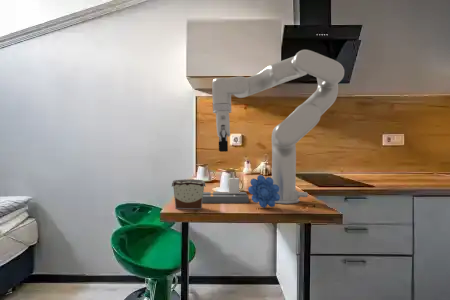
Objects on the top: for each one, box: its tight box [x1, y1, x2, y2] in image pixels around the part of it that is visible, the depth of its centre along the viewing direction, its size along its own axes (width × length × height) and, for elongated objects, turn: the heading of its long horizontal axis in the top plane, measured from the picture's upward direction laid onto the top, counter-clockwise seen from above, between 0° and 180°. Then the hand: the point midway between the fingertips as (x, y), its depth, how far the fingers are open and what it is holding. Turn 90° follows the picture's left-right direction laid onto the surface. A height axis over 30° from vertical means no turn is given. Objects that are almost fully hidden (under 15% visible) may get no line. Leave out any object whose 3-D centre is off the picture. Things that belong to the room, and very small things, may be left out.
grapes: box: [247, 174, 280, 209], centre depth 129 cm, size 12×7×12 cm, turn 86°
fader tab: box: [228, 177, 240, 195], centre depth 145 cm, size 4×3×7 cm
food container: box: [171, 178, 207, 210], centre depth 130 cm, size 12×6×10 cm, turn 84°
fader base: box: [202, 191, 249, 204], centre depth 145 cm, size 19×12×3 cm, turn 92°
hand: (223, 151), depth 144 cm, fingers open, 9 cm apart
